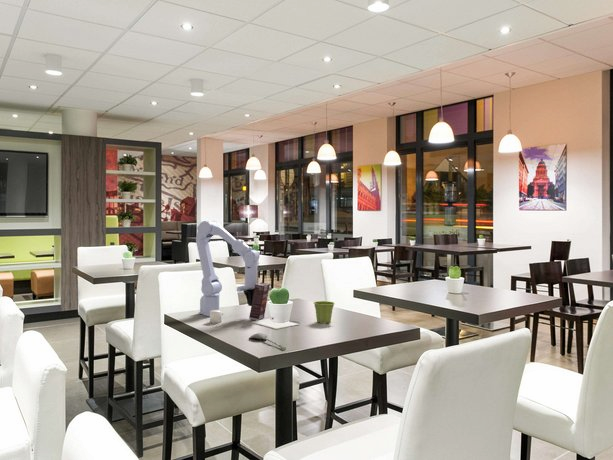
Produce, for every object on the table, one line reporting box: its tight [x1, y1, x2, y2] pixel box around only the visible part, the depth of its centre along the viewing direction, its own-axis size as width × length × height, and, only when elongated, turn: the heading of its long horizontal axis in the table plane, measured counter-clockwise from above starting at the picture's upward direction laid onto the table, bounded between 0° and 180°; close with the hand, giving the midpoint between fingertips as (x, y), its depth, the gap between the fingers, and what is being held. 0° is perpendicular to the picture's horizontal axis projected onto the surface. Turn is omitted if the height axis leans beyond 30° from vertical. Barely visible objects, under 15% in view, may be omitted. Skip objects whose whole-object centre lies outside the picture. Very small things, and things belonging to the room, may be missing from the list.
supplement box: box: [248, 282, 270, 321], centre depth 221 cm, size 9×5×16 cm, turn 167°
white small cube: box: [209, 309, 223, 324], centre depth 214 cm, size 5×5×5 cm
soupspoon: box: [248, 332, 287, 351], centre depth 179 cm, size 22×3×7 cm
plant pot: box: [313, 300, 335, 324], centre depth 217 cm, size 9×9×9 cm
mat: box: [250, 318, 300, 330], centre depth 212 cm, size 17×13×1 cm
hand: (250, 305), depth 225 cm, fingers closed
